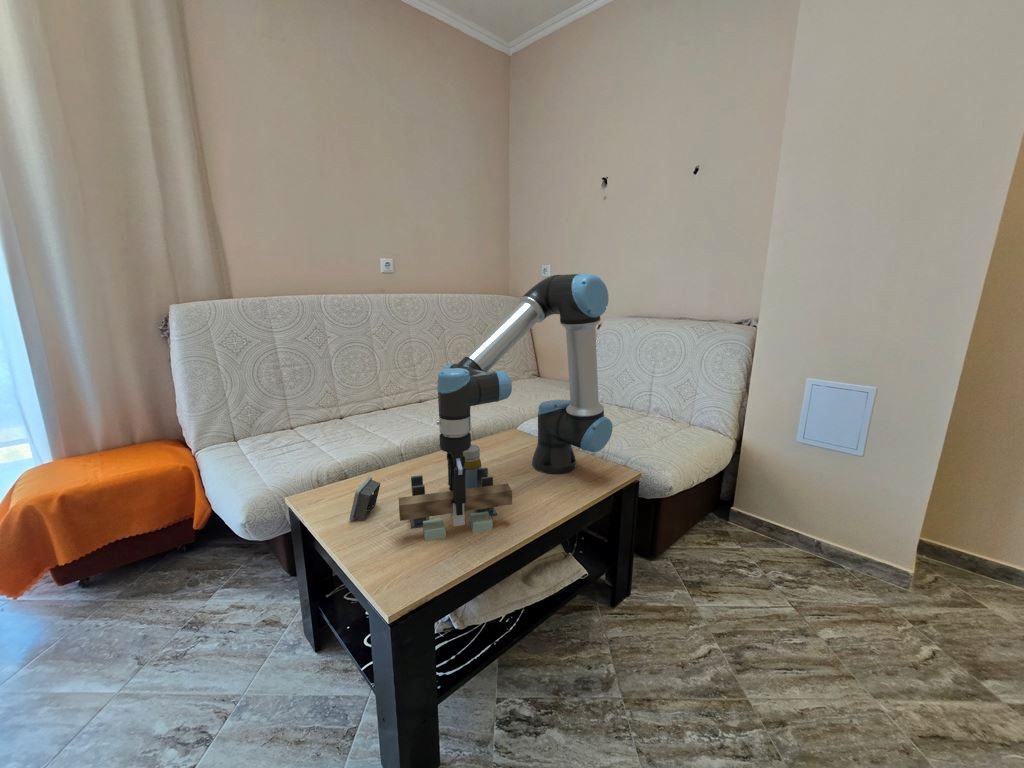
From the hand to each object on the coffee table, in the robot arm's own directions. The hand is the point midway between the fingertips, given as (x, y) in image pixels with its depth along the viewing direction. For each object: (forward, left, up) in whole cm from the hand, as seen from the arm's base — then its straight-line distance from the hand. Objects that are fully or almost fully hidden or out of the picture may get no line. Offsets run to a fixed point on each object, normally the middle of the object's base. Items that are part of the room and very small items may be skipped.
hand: (457, 519), depth 106 cm
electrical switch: (+23, -16, -3) cm, 28 cm away
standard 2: (-9, -8, -3) cm, 12 cm away
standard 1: (+9, -8, -3) cm, 12 cm away
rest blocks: (0, 0, -3) cm, 3 cm away
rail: (0, 0, +3) cm, 3 cm away
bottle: (-7, -17, -3) cm, 19 cm away
